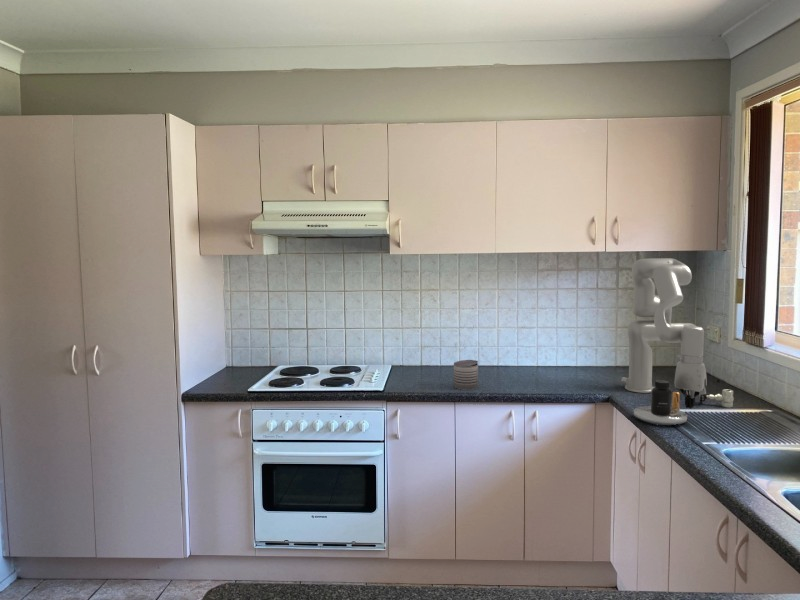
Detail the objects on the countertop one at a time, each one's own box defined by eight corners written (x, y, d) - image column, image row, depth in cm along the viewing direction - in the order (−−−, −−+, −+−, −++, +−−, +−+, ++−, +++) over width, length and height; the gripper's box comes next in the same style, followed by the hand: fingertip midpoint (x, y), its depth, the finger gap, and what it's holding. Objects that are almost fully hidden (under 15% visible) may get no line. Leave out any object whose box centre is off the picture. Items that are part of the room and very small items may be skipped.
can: (479, 390, 256) (479, 364, 255) (454, 390, 256) (454, 364, 255) (477, 383, 267) (477, 359, 266) (453, 384, 268) (453, 359, 266)
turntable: (671, 427, 196) (672, 407, 196) (624, 415, 211) (624, 397, 210) (701, 415, 209) (701, 397, 209) (654, 405, 224) (655, 387, 223)
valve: (732, 404, 227) (698, 401, 233) (733, 388, 227) (699, 386, 232) (733, 409, 221) (699, 405, 227) (734, 392, 221) (700, 389, 226)
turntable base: (668, 428, 199) (668, 425, 199) (632, 419, 210) (632, 416, 210) (688, 420, 208) (688, 418, 208) (651, 412, 219) (651, 409, 219)
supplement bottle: (661, 416, 204) (662, 384, 203) (646, 411, 210) (647, 380, 209) (675, 414, 207) (676, 382, 206) (659, 409, 213) (660, 378, 212)
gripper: (666, 357, 212) (665, 405, 214) (708, 363, 201) (706, 413, 203) (675, 355, 217) (674, 401, 219) (717, 360, 206) (715, 409, 208)
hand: (689, 407), depth 211 cm, fingers closed
